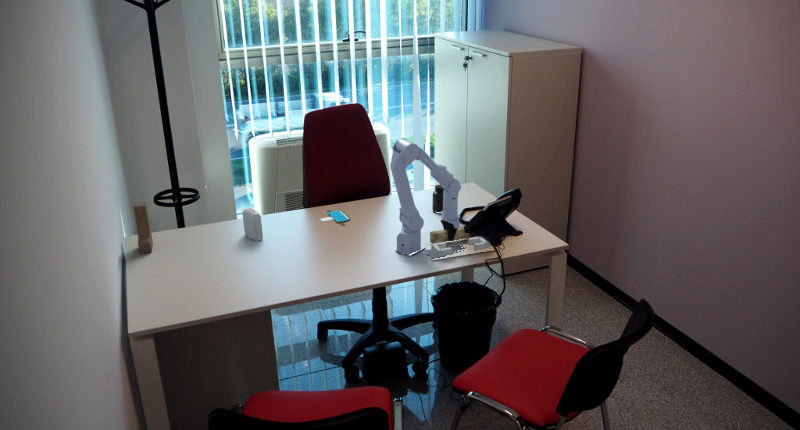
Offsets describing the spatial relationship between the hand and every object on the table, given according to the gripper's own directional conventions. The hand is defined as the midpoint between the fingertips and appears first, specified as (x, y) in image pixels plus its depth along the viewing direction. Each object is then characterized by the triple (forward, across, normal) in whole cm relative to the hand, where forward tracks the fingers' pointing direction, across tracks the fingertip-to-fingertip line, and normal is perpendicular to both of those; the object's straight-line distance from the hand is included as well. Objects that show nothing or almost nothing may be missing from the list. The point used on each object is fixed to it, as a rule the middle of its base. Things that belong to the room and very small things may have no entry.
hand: (449, 238), depth 256 cm
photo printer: (+2, +32, +74) cm, 80 cm away
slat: (+2, 0, 0) cm, 2 cm away
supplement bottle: (+2, +32, -9) cm, 34 cm away
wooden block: (+2, +35, +115) cm, 121 cm away
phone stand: (+2, +41, +38) cm, 56 cm away
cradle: (+2, -10, 0) cm, 10 cm away
